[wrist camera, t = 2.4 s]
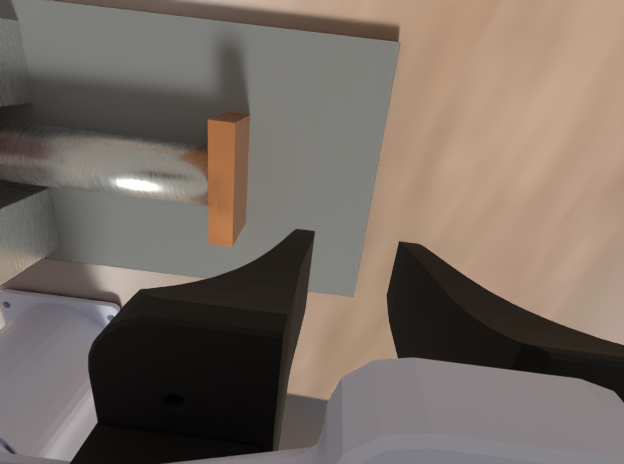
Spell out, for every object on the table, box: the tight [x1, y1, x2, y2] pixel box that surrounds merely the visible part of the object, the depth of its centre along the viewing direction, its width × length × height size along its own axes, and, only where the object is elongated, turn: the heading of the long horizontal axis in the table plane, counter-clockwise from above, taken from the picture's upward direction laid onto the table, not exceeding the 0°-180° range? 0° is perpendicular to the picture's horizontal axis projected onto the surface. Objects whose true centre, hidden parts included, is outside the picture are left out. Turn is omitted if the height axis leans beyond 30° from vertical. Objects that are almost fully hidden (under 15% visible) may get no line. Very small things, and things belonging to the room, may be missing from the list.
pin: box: [0, 112, 250, 247], centre depth 19 cm, size 12×6×3 cm, turn 84°
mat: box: [0, 0, 401, 297], centre depth 20 cm, size 14×26×1 cm, turn 84°
